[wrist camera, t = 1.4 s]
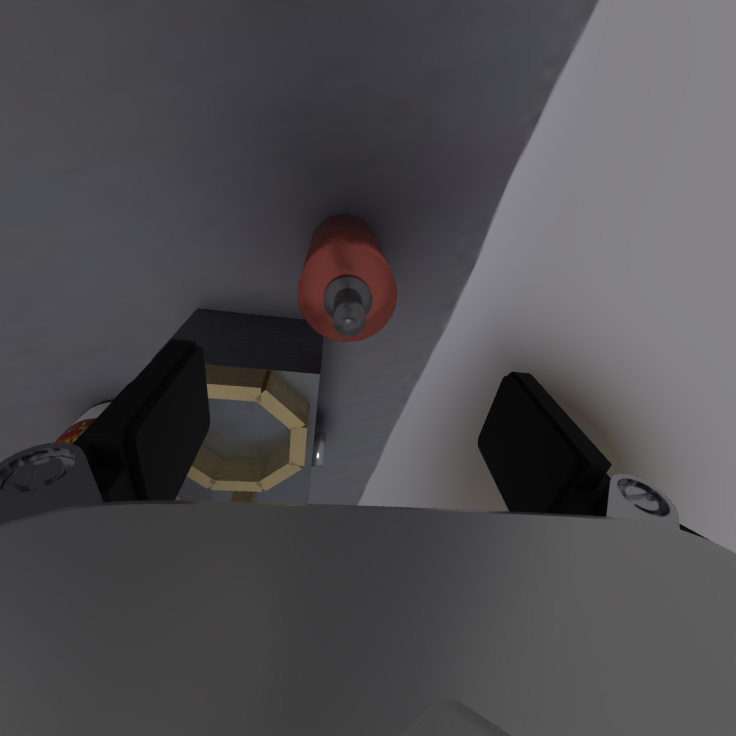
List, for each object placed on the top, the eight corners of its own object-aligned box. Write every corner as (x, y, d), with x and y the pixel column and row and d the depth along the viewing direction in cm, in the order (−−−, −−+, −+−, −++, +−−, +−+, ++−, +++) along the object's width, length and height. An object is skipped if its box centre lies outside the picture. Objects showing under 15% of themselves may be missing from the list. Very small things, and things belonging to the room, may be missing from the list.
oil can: (313, 209, 24) (292, 255, 13) (382, 219, 25) (418, 272, 14) (308, 278, 27) (288, 366, 16) (372, 286, 28) (394, 375, 17)
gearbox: (197, 308, 27) (125, 388, 18) (336, 323, 29) (335, 404, 20) (211, 439, 35) (165, 545, 25) (322, 445, 36) (317, 547, 27)
